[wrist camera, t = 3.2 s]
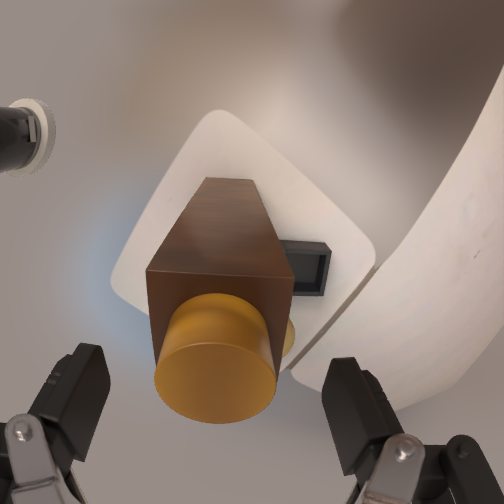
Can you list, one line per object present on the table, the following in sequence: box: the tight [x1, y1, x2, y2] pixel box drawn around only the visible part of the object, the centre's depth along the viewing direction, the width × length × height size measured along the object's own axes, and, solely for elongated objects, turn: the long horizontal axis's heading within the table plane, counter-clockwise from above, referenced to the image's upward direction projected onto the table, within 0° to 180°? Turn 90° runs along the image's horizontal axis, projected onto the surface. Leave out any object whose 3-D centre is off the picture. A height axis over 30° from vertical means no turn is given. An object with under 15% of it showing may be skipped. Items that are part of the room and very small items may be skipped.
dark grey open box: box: [279, 240, 332, 296], centre depth 38 cm, size 12×6×3 cm, turn 85°
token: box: [154, 293, 277, 424], centre depth 10 cm, size 4×4×3 cm
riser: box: [146, 177, 295, 383], centre depth 24 cm, size 6×6×26 cm
